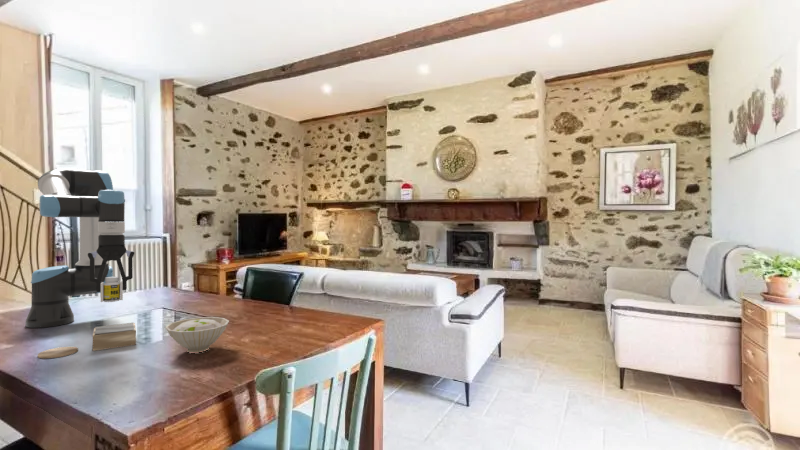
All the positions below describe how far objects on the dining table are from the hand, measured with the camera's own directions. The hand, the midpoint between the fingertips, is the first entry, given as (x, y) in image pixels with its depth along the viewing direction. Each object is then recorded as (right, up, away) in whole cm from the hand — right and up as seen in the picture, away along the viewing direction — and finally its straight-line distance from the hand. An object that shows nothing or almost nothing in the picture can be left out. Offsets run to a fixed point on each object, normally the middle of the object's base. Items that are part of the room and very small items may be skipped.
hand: (111, 300), depth 141 cm
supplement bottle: (0, -1, 0) cm, 1 cm away
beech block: (+1, -15, +1) cm, 15 cm away
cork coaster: (-10, -15, -11) cm, 21 cm away
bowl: (+33, -16, -6) cm, 37 cm away
